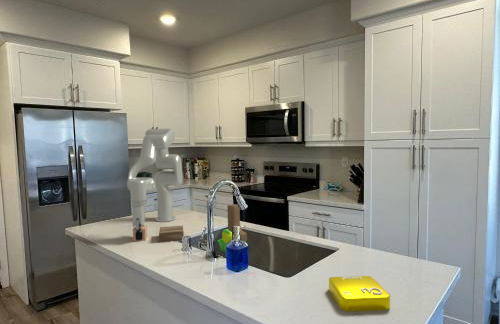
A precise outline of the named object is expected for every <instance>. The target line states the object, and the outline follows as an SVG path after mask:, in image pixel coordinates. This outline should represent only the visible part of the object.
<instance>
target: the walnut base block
mask: <svg viewBox="0 0 500 324" xmlns="http://www.w3.org/2000/svg"><path fill="white" fill-rule="evenodd" d="M183 236H185V233H184V226H183V225H172V226H160V227H159V231H158V238H159V239H158V241H159V242H158V243H160V242H161V243H171V241H173V242H181V240H182V237H183Z"/></svg>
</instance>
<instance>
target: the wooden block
mask: <svg viewBox="0 0 500 324" xmlns="http://www.w3.org/2000/svg"><path fill="white" fill-rule="evenodd" d="M238 205H239V204H236V203H235V204H234V203H232V204H228V205H226V206H227V229H228V230H229V231H230V232H232V227H233V226H240V237H241V238H240V239H241V240H242V241H245V243H247V242H248V233H247V232H245V231H243V230H242V228H241V214H240V212H241V211H240V210H241V208H239V207H238Z"/></svg>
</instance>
